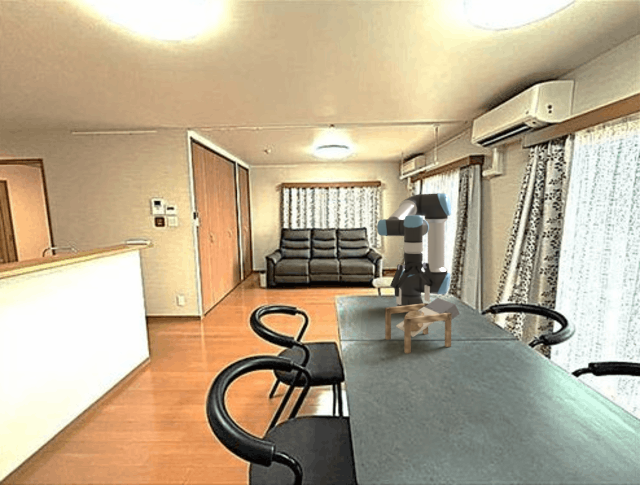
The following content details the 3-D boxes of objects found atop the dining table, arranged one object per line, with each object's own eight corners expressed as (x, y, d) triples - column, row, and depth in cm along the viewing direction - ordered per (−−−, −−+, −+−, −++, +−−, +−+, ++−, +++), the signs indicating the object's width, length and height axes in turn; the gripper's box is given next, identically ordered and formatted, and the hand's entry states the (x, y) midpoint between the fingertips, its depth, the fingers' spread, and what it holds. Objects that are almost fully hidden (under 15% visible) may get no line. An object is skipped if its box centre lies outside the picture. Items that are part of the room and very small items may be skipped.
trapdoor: (440, 306, 163) (436, 297, 162) (461, 314, 150) (456, 304, 149) (399, 334, 158) (395, 325, 157) (417, 345, 144) (412, 335, 143)
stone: (427, 315, 152) (423, 306, 151) (421, 330, 144) (416, 321, 143) (409, 317, 157) (405, 309, 156) (402, 332, 149) (398, 323, 148)
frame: (426, 332, 164) (426, 303, 163) (451, 346, 147) (451, 313, 146) (385, 338, 158) (385, 307, 156) (406, 353, 141) (406, 319, 140)
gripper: (433, 249, 156) (433, 297, 158) (382, 253, 148) (382, 303, 150) (444, 251, 148) (443, 301, 150) (390, 255, 141) (391, 307, 143)
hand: (413, 302), depth 150 cm, fingers open, 13 cm apart
